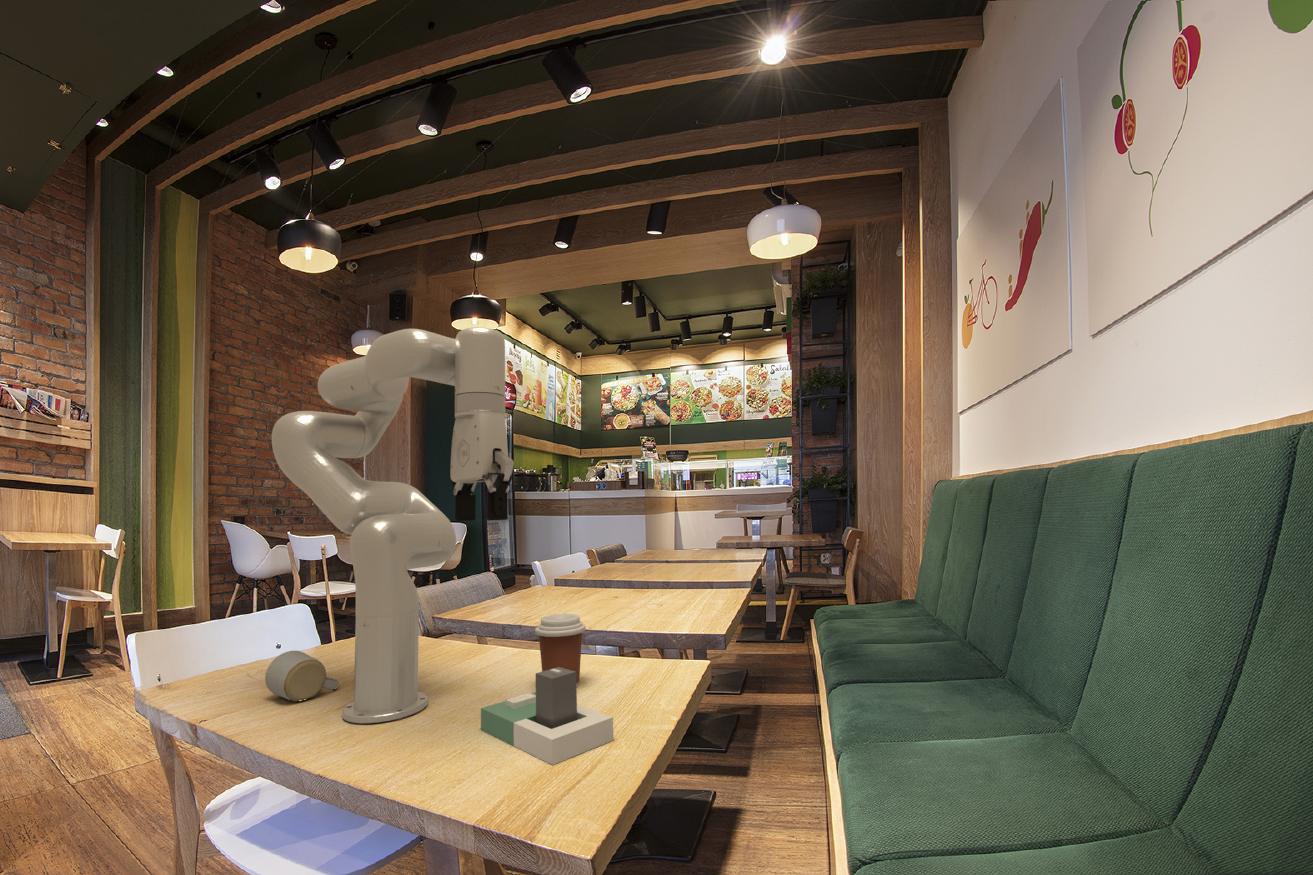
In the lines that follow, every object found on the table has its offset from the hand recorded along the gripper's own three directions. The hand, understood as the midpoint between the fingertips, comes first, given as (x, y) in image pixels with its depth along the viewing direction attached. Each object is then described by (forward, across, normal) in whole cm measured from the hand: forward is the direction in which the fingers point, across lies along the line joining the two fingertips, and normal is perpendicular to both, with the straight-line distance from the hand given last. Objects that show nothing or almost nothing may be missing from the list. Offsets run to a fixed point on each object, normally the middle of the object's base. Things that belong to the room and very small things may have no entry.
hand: (480, 520), depth 89 cm
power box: (+30, +9, +5) cm, 32 cm away
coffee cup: (+31, -8, +20) cm, 37 cm away
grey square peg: (+30, +12, +5) cm, 33 cm away
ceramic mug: (+31, -40, -13) cm, 52 cm away
